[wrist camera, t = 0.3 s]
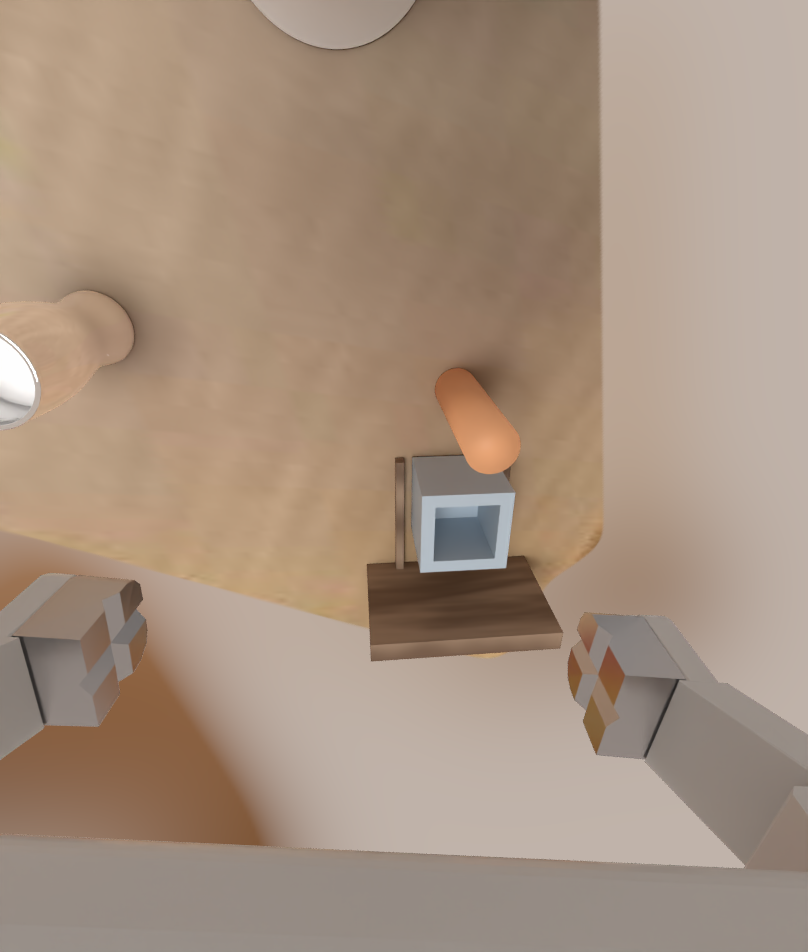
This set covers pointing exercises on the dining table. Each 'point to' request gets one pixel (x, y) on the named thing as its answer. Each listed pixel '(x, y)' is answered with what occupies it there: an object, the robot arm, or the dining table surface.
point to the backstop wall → (454, 605)
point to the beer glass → (56, 351)
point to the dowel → (477, 422)
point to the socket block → (459, 515)
